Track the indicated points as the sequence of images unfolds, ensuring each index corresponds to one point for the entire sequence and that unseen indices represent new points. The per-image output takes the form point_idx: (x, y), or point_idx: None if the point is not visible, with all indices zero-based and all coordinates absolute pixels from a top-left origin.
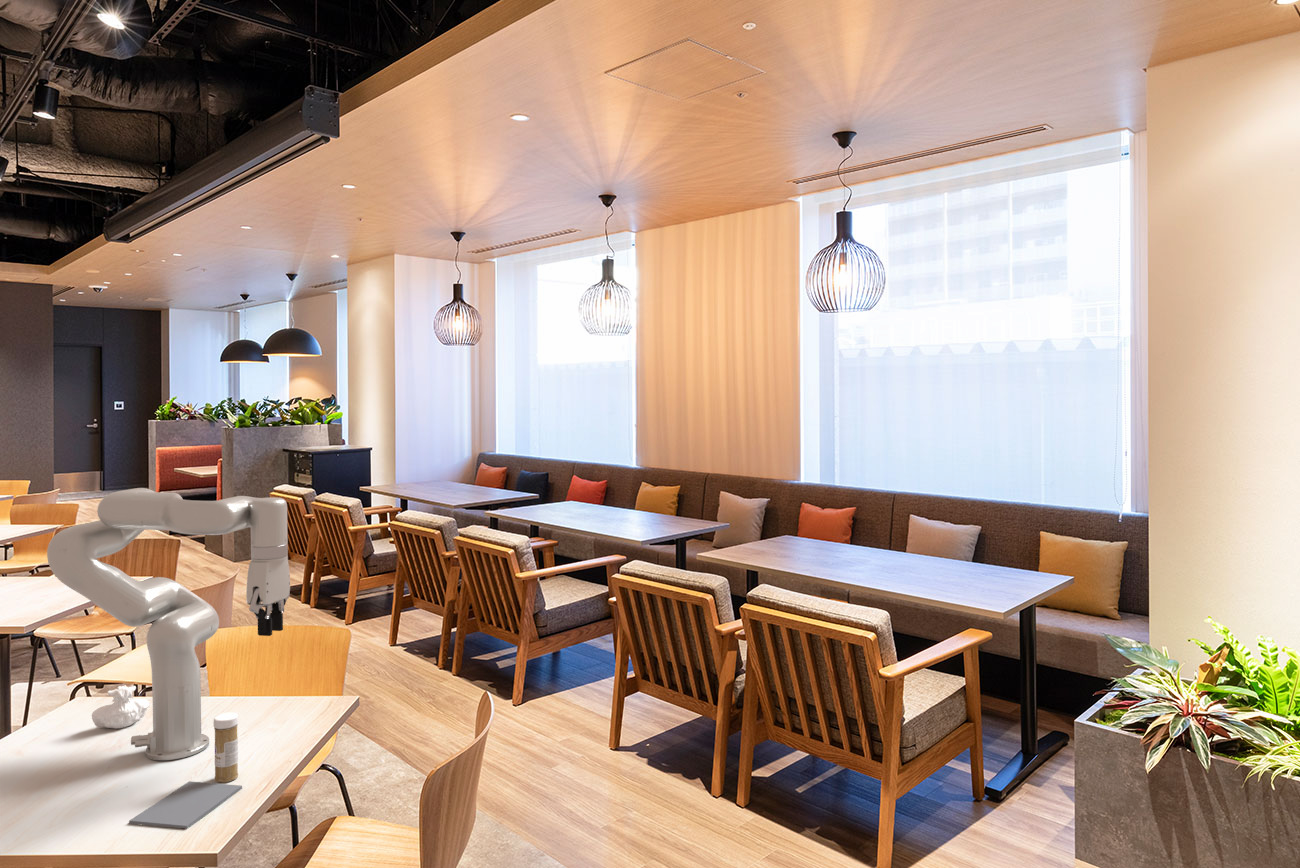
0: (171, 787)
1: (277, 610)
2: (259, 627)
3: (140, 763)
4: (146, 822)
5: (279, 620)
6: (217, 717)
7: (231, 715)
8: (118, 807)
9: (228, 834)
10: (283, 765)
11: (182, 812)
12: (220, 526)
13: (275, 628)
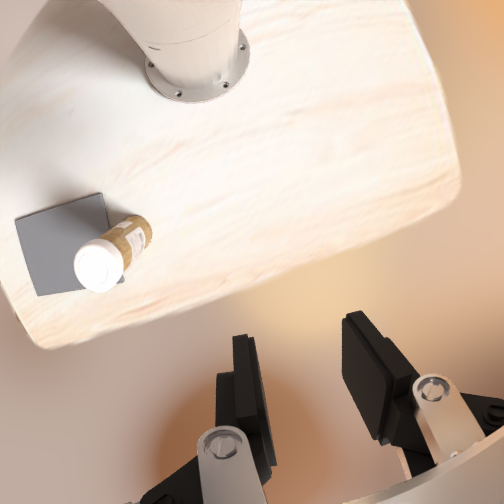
0: (86, 176)
1: (397, 442)
2: (217, 392)
3: (135, 52)
4: (21, 244)
5: (361, 410)
6: (80, 258)
7: (102, 278)
8: (31, 165)
9: (58, 342)
10: (207, 282)
11: (47, 266)
12: None
13: (345, 359)
